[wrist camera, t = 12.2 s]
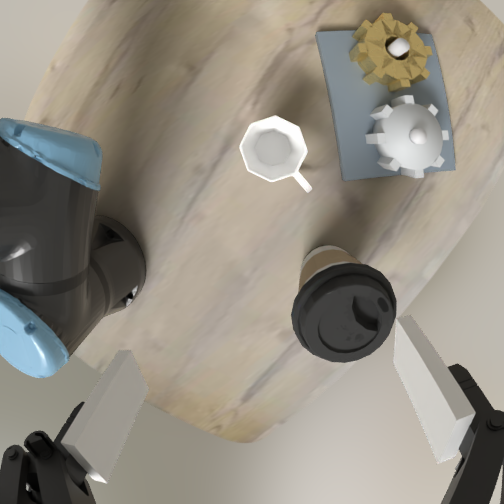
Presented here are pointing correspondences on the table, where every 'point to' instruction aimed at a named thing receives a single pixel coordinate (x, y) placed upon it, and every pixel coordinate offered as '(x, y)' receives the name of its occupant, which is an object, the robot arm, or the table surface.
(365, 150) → the gear board
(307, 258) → the coffee cup
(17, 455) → the robot arm
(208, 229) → the table surface
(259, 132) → the cup
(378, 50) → the brass gear
